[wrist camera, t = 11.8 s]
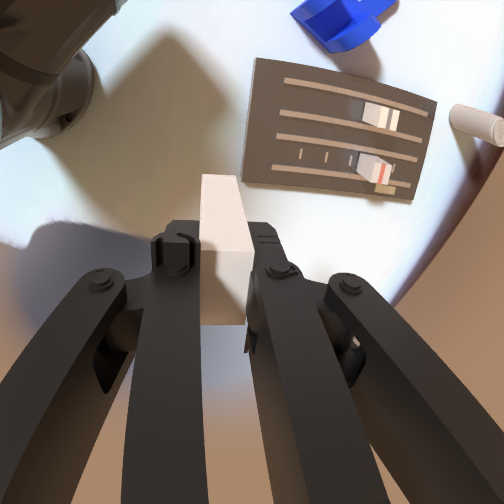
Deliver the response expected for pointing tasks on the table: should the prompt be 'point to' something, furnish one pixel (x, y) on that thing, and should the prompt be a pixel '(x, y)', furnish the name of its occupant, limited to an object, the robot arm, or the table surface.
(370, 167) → the fader
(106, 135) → the table surface
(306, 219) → the table surface
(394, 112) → the fader
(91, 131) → the table surface
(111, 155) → the table surface
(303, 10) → the bracket
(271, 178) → the console
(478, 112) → the beverage can
